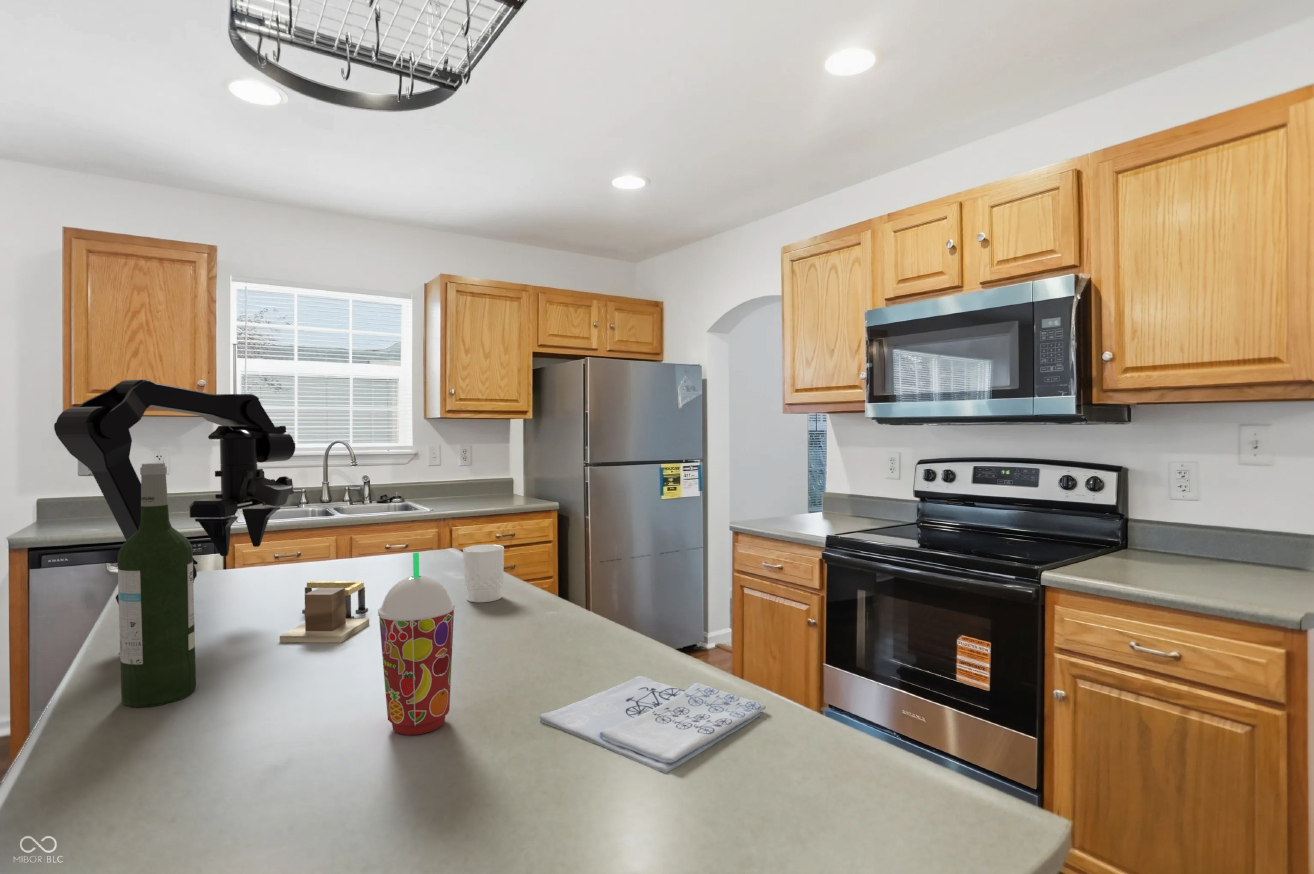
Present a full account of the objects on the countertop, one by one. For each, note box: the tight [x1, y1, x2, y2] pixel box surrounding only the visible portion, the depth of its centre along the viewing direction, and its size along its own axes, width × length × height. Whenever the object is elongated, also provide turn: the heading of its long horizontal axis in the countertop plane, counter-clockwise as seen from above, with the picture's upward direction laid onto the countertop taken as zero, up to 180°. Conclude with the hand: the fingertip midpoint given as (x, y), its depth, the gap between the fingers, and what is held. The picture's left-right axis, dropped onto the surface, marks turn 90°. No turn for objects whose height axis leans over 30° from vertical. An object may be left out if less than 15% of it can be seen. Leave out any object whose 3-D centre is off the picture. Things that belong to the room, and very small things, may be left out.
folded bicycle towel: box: [538, 675, 767, 774], centre depth 85 cm, size 19×20×2 cm
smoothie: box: [377, 551, 456, 736], centre depth 82 cm, size 8×8×20 cm
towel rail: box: [301, 580, 369, 619], centre depth 129 cm, size 7×12×6 cm, turn 88°
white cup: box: [462, 544, 505, 603], centre depth 141 cm, size 8×8×10 cm
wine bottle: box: [116, 462, 197, 708], centre depth 92 cm, size 8×8×30 cm
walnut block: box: [304, 588, 346, 631], centre depth 119 cm, size 4×4×6 cm
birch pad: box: [279, 618, 370, 644], centre depth 119 cm, size 10×10×1 cm
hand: (241, 551), depth 128 cm, fingers open, 9 cm apart
